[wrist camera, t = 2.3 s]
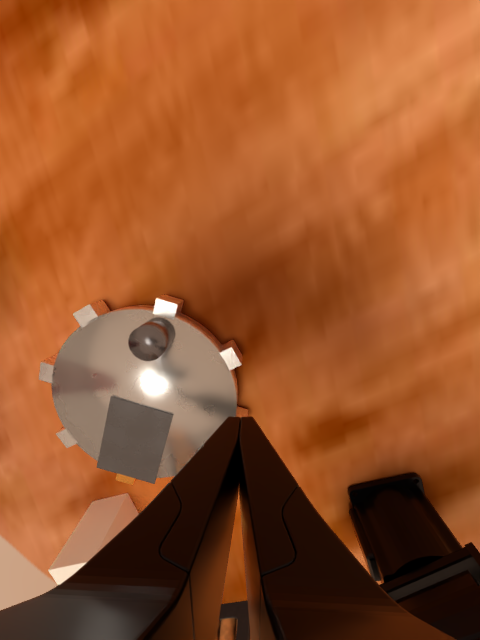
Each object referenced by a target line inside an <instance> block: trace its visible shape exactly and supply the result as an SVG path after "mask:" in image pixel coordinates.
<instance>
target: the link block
mask: <svg viewBox="0 0 480 640" xmlns="http://www.w3.org/2000/svg"><path fill="white" fill-rule="evenodd" d="M138 515H139V513H138V512H137V510H136V508H135V506H134V504H133V502H132V500H131V498H130V496H129V494H128V493H126V494H122V495H117V496H113V497H109V498H105V499H101V500H96V501H92V503H91V504H90V506H89V508H88V509H87V511H86V512H85V514H84V515H83V517H82V518H81V520H80V522H79V523H78V525H77V526H76V528H75V529H74V531H73V532H72V534H71V536H70V537H69V539H68V540H67V542H66V543H65V545H64V546H63V548H62V549H61V551H60V553H59V554H58V556H57V557H56V559H55V560H54V562H53V563H52V565H51V567H50V568H49V570H48V571H49V572H50V574H51V575H52V577H53V578H54V580H55V581H56V583H57V584H58V585H60V584H61V583H63V582H64V581H65V580H67V579H68V578H69V577H71V576H72V575H73V574H74V573H75V572H77V571H78V570H79V569H80V568H81V567H82V566H83V565H85V564H86V563H87V562H88V561H89V560H90V559H91V558H92V557H93V556H94V555H95V554H96V553H98V552H99V551H100V550H101V549H102V548H103V547H104V546H105V545H106V544H107V543H108V542H110V541H111V540H112V539H113V538H114V537H115V536H116V535H117V534H118V533H119V532H120V531H122V530H123V529H124V528H125V527H126V526H127V525H128V524H129V523H130V522H131V521H132V520H133V519H134V518H135V517H136V516H138Z"/></svg>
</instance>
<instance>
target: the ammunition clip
mask: <svg viewBox="0 0 480 640" xmlns="http://www.w3.org/2000/svg"><path fill="white" fill-rule="evenodd" d="M216 640H251V638H250V625H249V612H248V601H242V602H235V603H228V604H221V608H220V615H219V621H218V627H217V634H216Z"/></svg>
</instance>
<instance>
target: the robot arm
mask: <svg viewBox="0 0 480 640" xmlns="http://www.w3.org/2000/svg"><path fill="white" fill-rule="evenodd" d="M238 492H239V495H240V509H241V522H242V535H243V548H244V561H245V573H246V586H247V599H248V612H249V625H250V638H251V640H480V553H479V551H478V550H477V549H476V548H475V546H474V545H473V544H472V542H470V543H468V544H466V545H465V547H464V548H462V546H461V545H460V543H459V542H458V541H457V539H456V538H455V536H454V535H453V534H452V532H451V531H450V529H449V528H448V527H447V525H446V524H445V523H444V521H443V520H442V518H441V517H440V516H439V514H438V513H437V511H436V510H435V509H434V507H433V506H432V504H431V503H430V502H429V500H428V499H427V497H426V496H425V494H424V489H423V484H422V480H421V478H420V477H419V475H418V474H416V473H412V474H407V475H402V476H398V477H393V478H389V479H384V480H379V481H375V482H370V483H365V484H361V485H356V486H352V487H350V488H348V494H349V498H350V501H351V505H352V509H350V510H349V514H350V518H351V521H352V525H353V528H354V532H355V534H356V537H357V540H358V542H359V545H360V548H361V550H362V553H363V556H364V559H365V561H366V564H367V567H368V569H369V572H370V574H369V573H368V572H367V571H366V569H365V568H364V567H363V566H362V565H361V564H360V562H359V561H358V560H357V559H356V558H355V556H354V555H353V554H352V553H351V552H350V551H349V549H348V548H347V547H346V546H345V545H344V544H343V542H342V541H341V540H340V539H339V538H338V536H337V535H336V534H335V533H334V532H333V531H332V529H331V528H330V527H329V526H328V524H327V523H326V522H325V521H324V519H323V518H322V517H321V516H320V515H319V513H318V512H317V510H316V509H315V508H314V506H313V505H312V504H311V502H310V501H309V499H308V498H307V496H306V495H305V493H304V492H303V490H302V489H301V487H299V485H298V483H297V482H296V480H295V479H294V477H293V476H292V474H291V473H290V471H289V470H288V468H287V467H286V465H285V464H284V462H283V461H282V459H281V458H280V456H279V455H278V453H277V452H276V451H275V449H274V448H273V446H272V445H271V443H270V442H269V440H268V439H267V437H266V436H265V434H264V433H263V431H262V430H261V428H260V427H259V425H258V424H257V422H256V421H255V419H254V418H253V417H241V419H240V417H236V416H229V417H227V418H226V420H225V421H224V422H223V423H222V424H221V425H220V426H219V427H218V429H217V430H216V431H215V432H214V433H213V434H212V435H211V436H210V437H209V439H208V440H207V441H206V442H205V443H204V444H203V445H202V446H201V448H200V449H199V450H198V451H197V452H196V453H195V454H194V455H193V456H192V458H191V459H190V460H189V461H188V462H187V463H186V464H185V465H184V467H183V468H182V469H181V470H180V471H179V472H178V473H177V474H176V476H175V477H174V478H173V479H172V480H171V483H168V484H167V485H166V487H165V488H164V489H163V490H162V491H161V492H160V493H159V494H158V495H157V496H156V497H155V498H154V500H153V501H152V502H151V503H150V504H149V505H148V506H147V507H146V508H145V509H144V510H143V511H142V512H141V513H140V514H139V515H138V516H136V517H135V518H134V519H133V520H132V521H131V522H130V523H129V524H128V525H127V526H126V527H125V528H124V529H123V530H122V531H120V532H119V533H118V534H117V535H116V536H115V537H114V538H113V539H112V540H111V541H110V542H108V543H107V544H106V545H105V546H104V547H103V548H102V549H101V550H100V551H99V552H98V553H96V554H95V555H94V556H93V557H92V558H91V559H90V560H89V561H88V562H87V563H86V564H85V565H83V566H82V567H81V568H80V569H79V570H78V571H77V572H75V573H74V574H73V575H72V576H71V577H69V578H68V579H67V580H65V581H64V582H63V583H61V584H60V585H58V586H57V587H55V588H54V589H52V590H50V591H48V592H46V593H44V594H42V595H40V596H38V597H35V598H32V599H30V600H27V601H24V602H22V603H19V604H17V605H14V606H11V607H9V608H6V609H3V610H1V611H0V640H216V634H217V627H218V621H219V615H220V608H221V602H222V595H223V589H224V583H225V576H226V570H227V563H228V557H229V551H230V544H231V538H232V531H233V525H234V519H235V512H236V506H237V499H238ZM376 581H381V583H382V584H381V585H378V583H377V582H376Z"/></svg>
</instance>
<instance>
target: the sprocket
mask: <svg viewBox="0 0 480 640" xmlns="http://www.w3.org/2000/svg"><path fill="white" fill-rule="evenodd" d="M183 302H184V300H181V299H178V298H175V297H171V296H168V295H165V294H164V295H162V296H160V297H157V298H156V301H155V306H151V305H134V306H128V307H122V308H119V309H116V310H113V311H110V310H109V308H108V307H107V305H106V304H105V302H104V301H103V300H102V301H98V302H95V303H92V304H89V305H87V306H86V307H84V308H82V309H80V310H79V311H77V312H75V313H73V315H74V317H75V318H76V320H77V321H78V323H79V324H80V327H79V328H78V329H77V330H76V331H75V332H73V333H72V334H71V335H70V337H69V338H68V339H67V340H66V342H65V343H64V344H63V346H62V348H61V349H60V351H59V353H57V354H55V355H53V356H51V357H49V358H47V359H46V360H44V361H42V362H41V365H40V374H39V380H42V381H45V382H49V383H52V396H53V400H54V405H55V408H56V411H57V413H58V416H59V418H60V420H61V422H62V424H63V427H62V428H61V429H60V430H59V431H58V432H57V433H56V435H57V436H58V437H59V439H60V440H61V441H62V442H63V444H64V445H65V446H66V448H68V447H70V446H72V445H75V444H77V445H78V446H79V447H81V448H82V449H83V450H84V451H85V452H86V453H87V454H89V455H90V456H91V457H93V458H94V459H95V460H97V461H98V463H97V468H100V469H104V470H107V471H111V472H114V473H117V476H116V480H117V481H120V482H124V483H127V484H131V485H133V484H134V483H135V481H136V479H139V480H143V481H146V482H150V483H153V484H155V481H156V478H163V477H171V476H176V474H177V473H178V472H179V471H180V470H181V469H182V468H183V467H184V465H185V464H186V463H187V462H188V461H189V460H190V459H191V458H192V456H193V455H194V454H195V453H196V452H197V451H198V450H199V449H200V448H201V446H202V445H203V444H204V443H205V442H206V441H207V440H208V439H209V437H210V436H211V435H212V434H213V433H214V432H215V431H216V430H217V429H218V427H219V426H220V425H221V424H222V423H223V422H224V421H225V420H226V418H227V417H229V416H236V417H240V419H241V417H248V409H244V408H241V407H237V399H238V384H237V378H236V373H235V370H234V368H236V367H238V366H240V365H242V354H241V352H240V351H239V349H238V347H237V345H236V343H235V342H234V340H231V341H229V342H227V343H225V344H223V345H222V344H221V343H220V342H219V341H218V339H217V338H216V337H215V336H214V335H213V334H212V333H211V332H210V331H209V330H208V329H207V328H205V327H204V326H203V325H201V324H200V323H199V322H197V321H196V320H194V319H192V318H191V317H189V316H187V315H185V314H183V313H181V310H182V306H183Z"/></svg>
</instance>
